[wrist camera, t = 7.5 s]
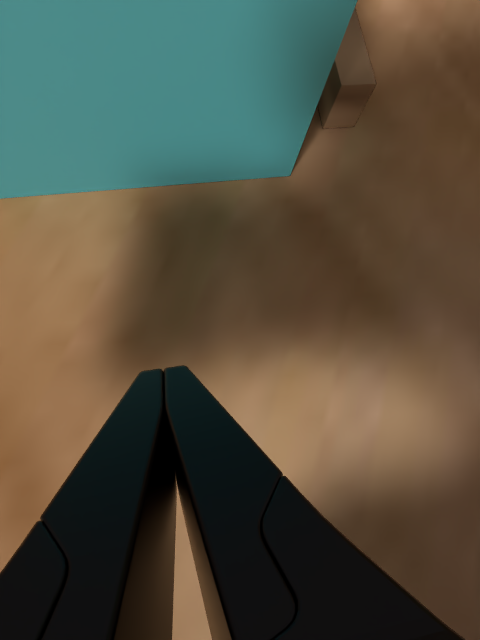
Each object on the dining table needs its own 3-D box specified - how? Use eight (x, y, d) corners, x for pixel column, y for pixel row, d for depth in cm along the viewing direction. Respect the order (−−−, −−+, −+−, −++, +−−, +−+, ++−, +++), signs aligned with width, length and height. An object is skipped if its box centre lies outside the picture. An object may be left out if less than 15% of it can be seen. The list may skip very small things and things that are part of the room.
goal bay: (353, 126, 20) (376, 83, 17) (-96, 154, 17) (-144, 107, 14) (308, -49, 22) (322, -107, 20) (-88, -50, 19) (-128, -118, 17)
